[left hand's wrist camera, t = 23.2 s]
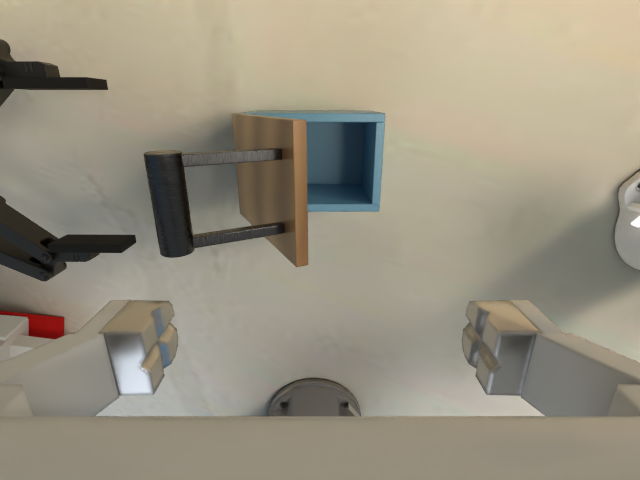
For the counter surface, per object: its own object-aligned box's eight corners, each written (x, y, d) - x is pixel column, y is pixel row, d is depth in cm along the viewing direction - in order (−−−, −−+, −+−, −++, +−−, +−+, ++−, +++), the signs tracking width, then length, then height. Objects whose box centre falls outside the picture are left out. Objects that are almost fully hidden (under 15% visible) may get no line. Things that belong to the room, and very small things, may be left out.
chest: (370, 110, 44) (385, 113, 34) (366, 188, 47) (379, 211, 37) (256, 110, 44) (237, 113, 34) (261, 188, 47) (245, 211, 37)
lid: (306, 119, 22) (139, 123, 18) (308, 265, 25) (168, 294, 21) (241, 113, 33) (132, 114, 30) (248, 212, 37) (152, 225, 33)
